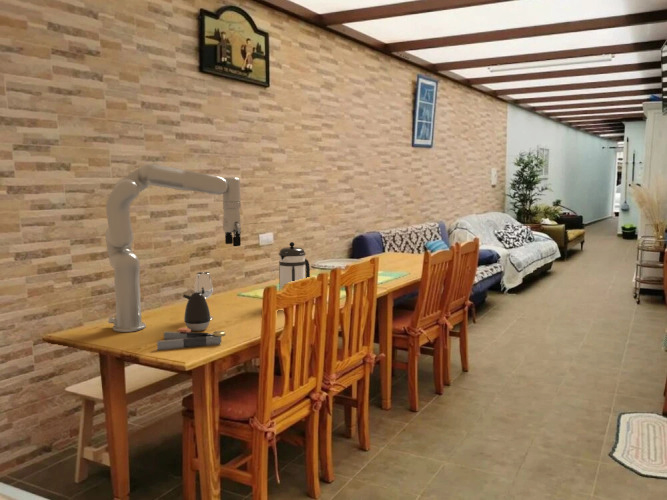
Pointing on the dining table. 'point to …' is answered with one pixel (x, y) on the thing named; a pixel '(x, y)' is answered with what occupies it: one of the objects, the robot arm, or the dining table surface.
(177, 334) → the tongs fixed arm
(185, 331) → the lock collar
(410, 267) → the dining table surface
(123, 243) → the robot arm
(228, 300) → the dining table surface
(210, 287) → the wineglass
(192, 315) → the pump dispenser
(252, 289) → the dining table surface
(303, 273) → the coffee press
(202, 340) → the tongs moving arm
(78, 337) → the dining table surface
